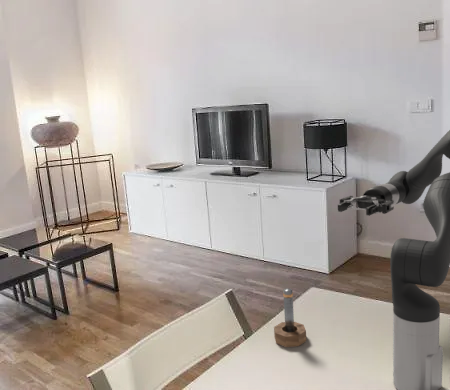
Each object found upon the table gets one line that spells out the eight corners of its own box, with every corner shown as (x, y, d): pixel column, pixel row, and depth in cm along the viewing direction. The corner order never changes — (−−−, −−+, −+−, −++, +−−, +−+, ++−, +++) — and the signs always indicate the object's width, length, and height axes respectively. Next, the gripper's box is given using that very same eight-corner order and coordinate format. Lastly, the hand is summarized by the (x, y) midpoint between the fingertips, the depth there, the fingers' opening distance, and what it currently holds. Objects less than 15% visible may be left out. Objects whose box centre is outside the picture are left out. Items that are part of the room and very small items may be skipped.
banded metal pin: (297, 338, 131) (294, 289, 128) (291, 342, 130) (288, 292, 127) (289, 335, 133) (286, 287, 130) (283, 339, 131) (280, 290, 128)
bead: (311, 337, 131) (311, 327, 131) (293, 350, 126) (293, 339, 125) (287, 328, 137) (286, 319, 136) (269, 340, 131) (268, 330, 131)
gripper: (359, 183, 148) (329, 194, 137) (404, 187, 139) (377, 199, 127) (359, 207, 150) (330, 220, 139) (404, 213, 140) (377, 226, 129)
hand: (353, 210), depth 133 cm, fingers open, 8 cm apart
